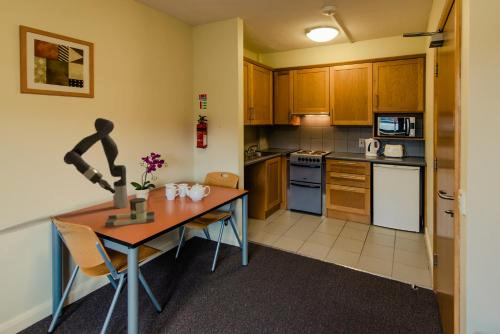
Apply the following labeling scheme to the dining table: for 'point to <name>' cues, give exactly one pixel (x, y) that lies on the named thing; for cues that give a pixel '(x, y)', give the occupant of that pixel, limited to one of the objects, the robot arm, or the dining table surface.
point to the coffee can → (138, 208)
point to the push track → (113, 221)
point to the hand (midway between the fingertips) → (114, 192)
